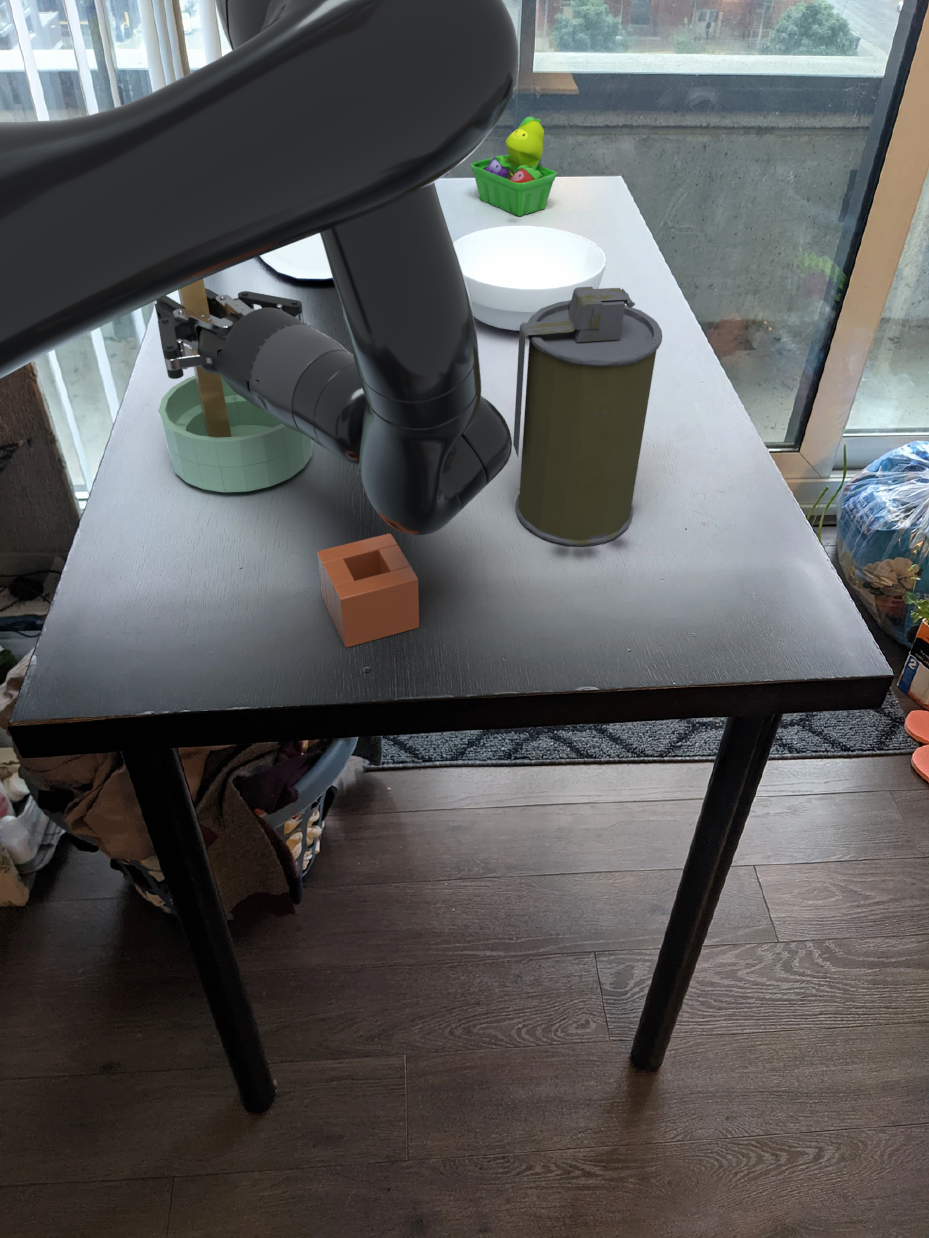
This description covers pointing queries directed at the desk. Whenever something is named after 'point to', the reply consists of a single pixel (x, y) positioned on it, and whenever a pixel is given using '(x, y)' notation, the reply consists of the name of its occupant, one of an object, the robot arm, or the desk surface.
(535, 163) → the fruit basket
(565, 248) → the bowl
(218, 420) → the stirring stick
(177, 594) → the desk surface
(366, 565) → the orange square socket block
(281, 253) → the plate
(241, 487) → the mixing bowl
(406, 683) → the desk surface
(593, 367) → the canister
